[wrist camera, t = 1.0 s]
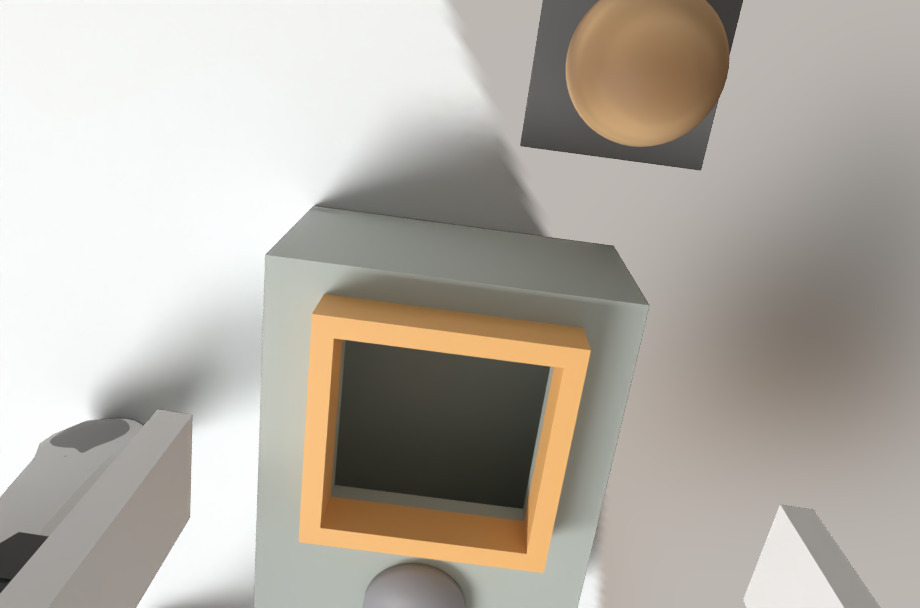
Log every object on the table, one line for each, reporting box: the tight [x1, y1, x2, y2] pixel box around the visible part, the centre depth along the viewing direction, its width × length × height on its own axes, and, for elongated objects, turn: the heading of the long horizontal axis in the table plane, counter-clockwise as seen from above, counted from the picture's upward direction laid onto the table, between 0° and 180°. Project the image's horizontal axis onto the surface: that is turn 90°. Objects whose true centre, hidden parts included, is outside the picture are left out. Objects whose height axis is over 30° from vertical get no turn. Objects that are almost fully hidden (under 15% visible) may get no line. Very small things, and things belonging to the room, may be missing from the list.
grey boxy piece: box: [254, 206, 650, 608], centre depth 33 cm, size 23×14×10 cm, turn 173°
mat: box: [520, 0, 743, 170], centre depth 30 cm, size 8×8×1 cm
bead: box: [566, 0, 729, 147], centre depth 27 cm, size 6×6×6 cm
